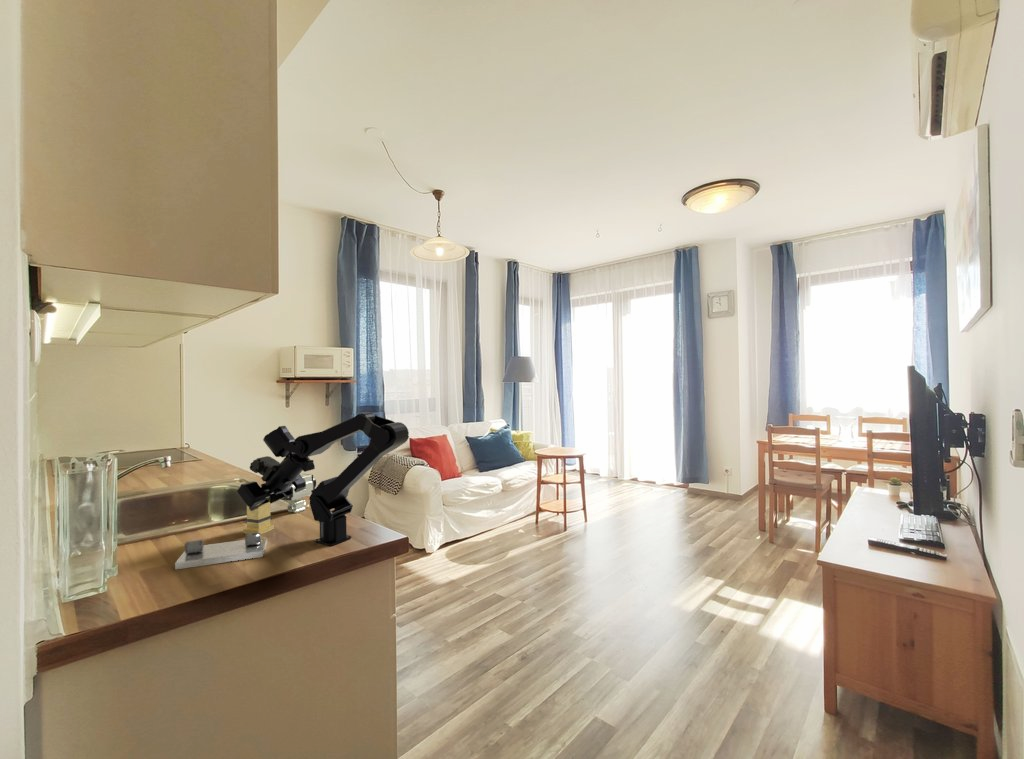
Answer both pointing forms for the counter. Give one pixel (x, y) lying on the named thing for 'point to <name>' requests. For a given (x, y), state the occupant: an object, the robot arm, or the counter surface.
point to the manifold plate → (221, 551)
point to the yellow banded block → (259, 519)
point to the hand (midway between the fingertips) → (257, 507)
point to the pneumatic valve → (300, 494)
